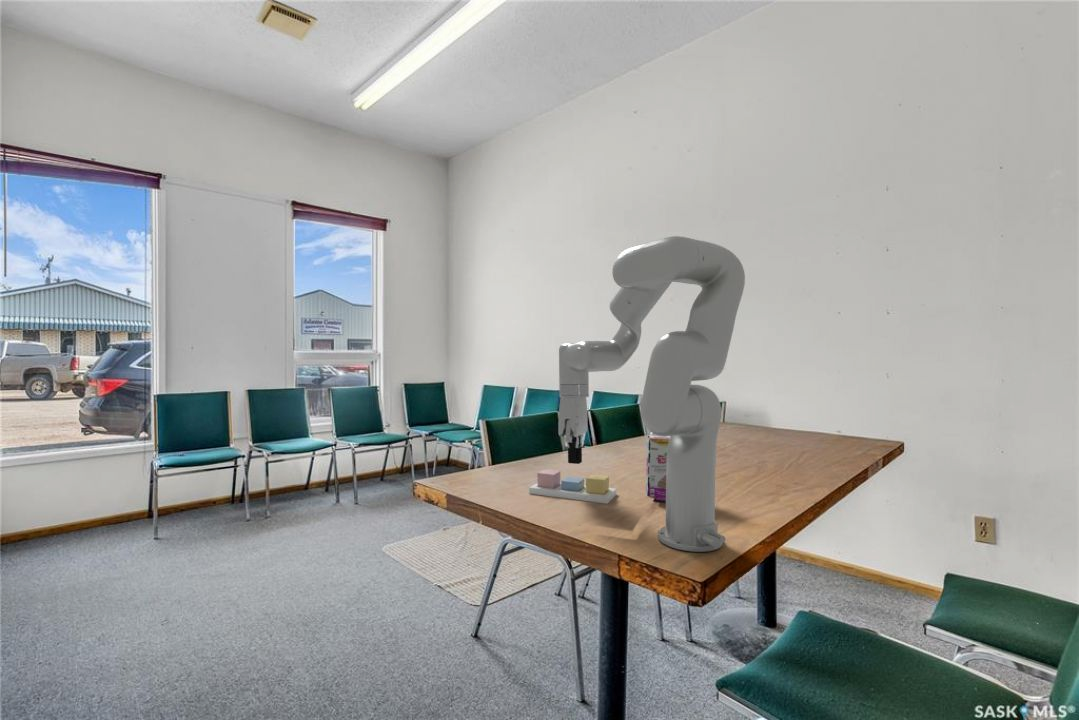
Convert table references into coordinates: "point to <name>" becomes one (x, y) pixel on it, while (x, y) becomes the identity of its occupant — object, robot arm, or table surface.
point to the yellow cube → (597, 484)
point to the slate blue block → (572, 484)
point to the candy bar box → (656, 467)
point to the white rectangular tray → (573, 494)
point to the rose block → (548, 479)
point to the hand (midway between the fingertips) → (575, 462)
